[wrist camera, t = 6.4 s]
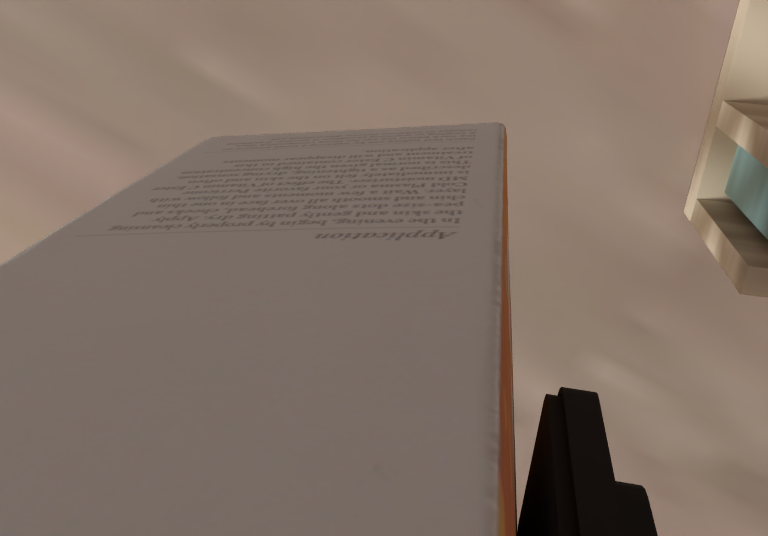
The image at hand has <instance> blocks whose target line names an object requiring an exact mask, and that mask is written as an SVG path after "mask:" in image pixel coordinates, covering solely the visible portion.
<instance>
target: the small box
mask: <svg viewBox="0 0 768 536" xmlns="http://www.w3.org/2000/svg"><path fill="white" fill-rule="evenodd" d="M0 536H517V508H516V472H515V436H514V400H513V364H512V328H511V297H510V271H509V244H508V197H507V135H506V128H505V126H504V125H503V124H501V123H498V122H495V123H478V124H460V125H441V126H421V127H402V128H383V129H364V130H344V131H325V132H306V133H283V134H263V135H243V136H221V137H212V138H210V139H207V140H205V141H203V142H201V143H199V144H198V145H196V146H194V147H193V148H191V149H189V150H188V151H186V152H184V153H182V154H181V155H179V156H177V157H176V158H174V159H172V160H171V161H169V162H167V163H166V164H164V165H162V166H161V167H159V168H157V169H156V170H154V171H152V172H151V173H149V174H147V175H146V176H144V177H142V178H141V179H139V180H137V181H136V182H134V183H132V184H131V185H129V186H127V187H125V188H124V189H122V190H120V191H119V192H117V193H115V194H114V195H112V196H111V197H109V198H107V199H106V200H104V201H103V202H101V203H100V204H98V205H97V206H95V207H93V208H91V209H90V210H88V211H86V212H84V213H83V214H81V215H79V216H78V217H76V218H75V219H73V220H71V221H70V222H68V223H67V224H65V225H63V226H62V227H60V228H59V229H57V230H56V231H54V232H52V233H51V234H49V235H48V236H46V237H45V238H43V239H41V240H40V241H38V242H37V243H35V244H33V245H32V246H30V247H29V248H27V249H25V250H24V251H22V252H20V253H19V254H17V255H16V256H14V257H12V258H11V259H9V260H7V261H6V262H4V263H3V264H1V265H0Z"/></svg>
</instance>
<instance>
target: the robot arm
mask: <svg viewBox="0 0 768 536" xmlns="http://www.w3.org/2000/svg"><path fill="white" fill-rule="evenodd" d="M517 536H658V535H657V531H656V527H655V523H654V519H653V515H652V511H651V507H650V503H649V499H648V496H647V493H646V490H645V489H644V488H643V487H642V486H641V485H635V484H629V483H623V482H617V481H615V478H614V473H613V468H612V462H611V457H610V452H609V447H608V442H607V437H606V432H605V427H604V422H603V417H602V412H601V407H600V402H599V397H598V394H597V393H596V392H590V391H584V390H577V389H571V388H564V387H561V388H560V390H559V392H558V396H556V395H550V394H546V396H545V399H544V403H543V408H542V412H541V417H540V422H539V427H538V432H537V436H536V441H535V446H534V451H533V456H532V461H531V465H530V470H529V475H528V480H527V485H526V490H525V494H524V499H523V504H522V509H521V514H520V518H519V524H518V531H517Z"/></svg>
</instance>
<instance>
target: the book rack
mask: <svg viewBox="0 0 768 536" xmlns="http://www.w3.org/2000/svg"><path fill="white" fill-rule="evenodd" d="M684 213H685V215H686V216H687V217H688V219H689V220H690V222H691V223H692V225H693V226H694V228H695V229H696V231H697V232H698V234H699V235H700V236H701V238H702V239H703V241H704V242H705V244H706V245H707V247H708V248H709V250H710V251H711V252H712V254H713V255H714V257H715V258H716V260H717V261H718V263H719V264H720V266H721V267H722V269H723V270H724V271H725V273H726V274H727V276H728V277H729V279H730V280H731V282H732V283H733V285H734V286H735V288H736V289H737V290H738V292H739V293H740V294H745V295H753V296H760V297H768V0H740V2H739V6H738V10H737V14H736V17H735V21H734V25H733V29H732V32H731V36H730V40H729V44H728V47H727V51H726V55H725V59H724V62H723V66H722V70H721V74H720V78H719V81H718V85H717V89H716V93H715V96H714V100H713V104H712V108H711V111H710V115H709V119H708V123H707V126H706V130H705V134H704V138H703V141H702V145H701V149H700V153H699V156H698V160H697V164H696V168H695V171H694V175H693V179H692V183H691V187H690V190H689V194H688V198H687V202H686V205H685V209H684Z"/></svg>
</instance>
